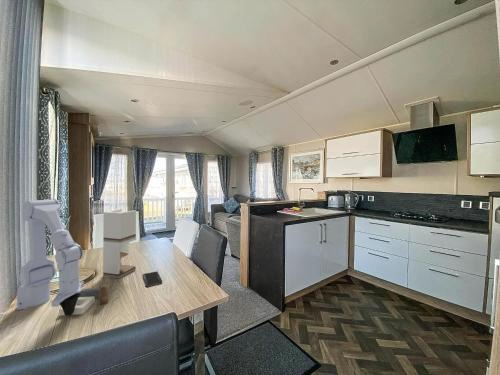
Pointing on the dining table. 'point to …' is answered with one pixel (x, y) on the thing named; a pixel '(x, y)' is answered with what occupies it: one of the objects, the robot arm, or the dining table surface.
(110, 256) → the white tower
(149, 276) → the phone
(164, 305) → the dining table surface
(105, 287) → the dowel
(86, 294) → the base board
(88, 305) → the holed block
